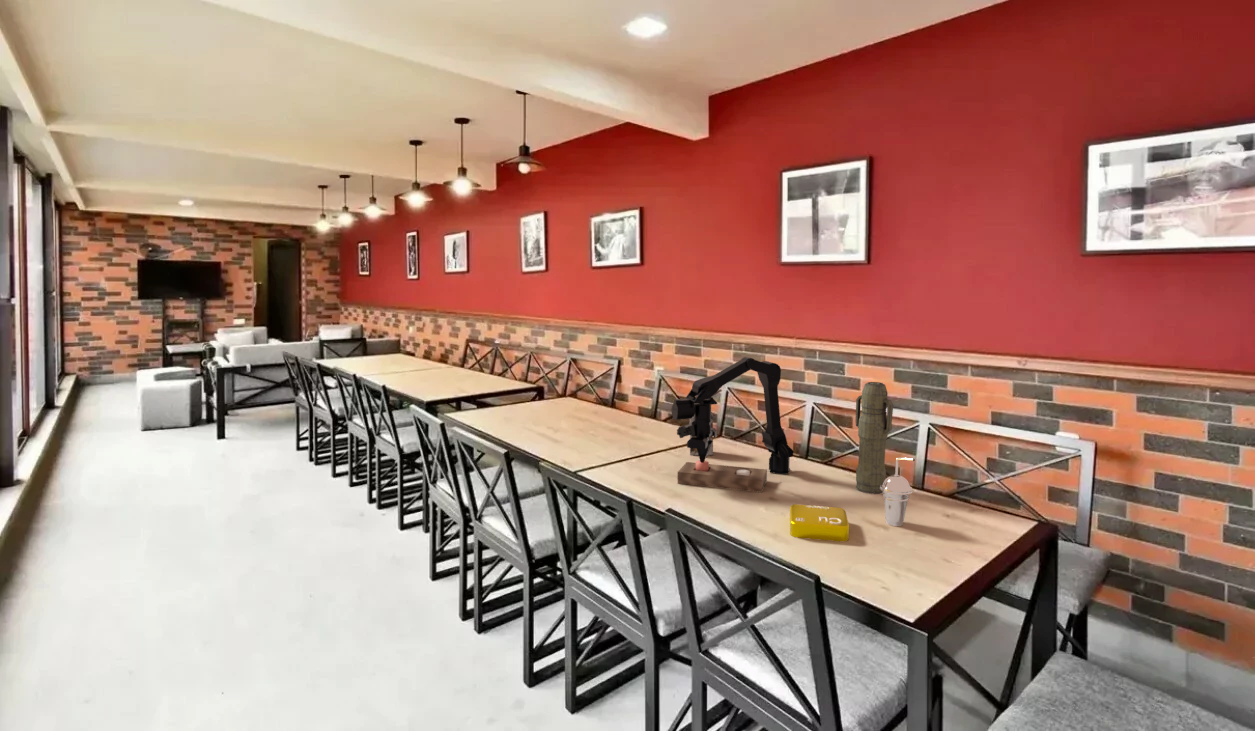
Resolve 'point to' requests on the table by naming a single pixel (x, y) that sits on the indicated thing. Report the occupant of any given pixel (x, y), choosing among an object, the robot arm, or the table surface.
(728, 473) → the pin block
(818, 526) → the element tile
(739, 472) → the pin
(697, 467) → the pink rounded block
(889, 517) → the cup with straw
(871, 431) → the thermos
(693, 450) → the coffee box
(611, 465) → the table surface
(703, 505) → the table surface
